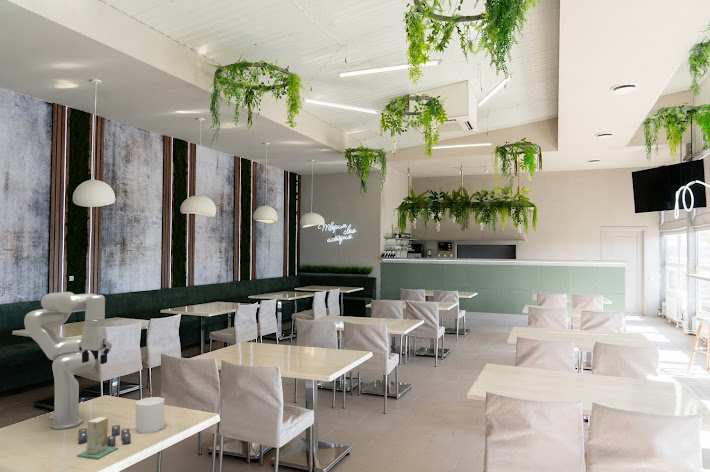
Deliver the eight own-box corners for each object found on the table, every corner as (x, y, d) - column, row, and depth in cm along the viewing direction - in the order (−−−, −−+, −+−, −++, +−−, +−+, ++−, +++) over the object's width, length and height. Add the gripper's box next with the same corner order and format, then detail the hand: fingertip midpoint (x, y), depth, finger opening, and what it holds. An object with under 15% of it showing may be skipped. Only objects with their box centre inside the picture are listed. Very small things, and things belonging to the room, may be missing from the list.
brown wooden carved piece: (161, 414, 237) (161, 389, 237) (162, 416, 234) (163, 391, 234) (141, 417, 232) (141, 391, 233) (142, 419, 229) (143, 393, 229)
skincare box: (96, 454, 188) (96, 422, 188) (86, 453, 189) (86, 421, 189) (108, 448, 194) (108, 417, 195) (98, 447, 195) (99, 416, 196)
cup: (143, 423, 224) (143, 397, 224) (168, 423, 224) (168, 397, 224) (130, 433, 212) (130, 405, 213) (157, 433, 212) (157, 405, 212)
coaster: (76, 456, 188) (76, 455, 188) (97, 446, 198) (97, 445, 198) (98, 459, 185) (98, 457, 185) (117, 449, 195) (117, 447, 195)
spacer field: (63, 444, 200) (63, 436, 200) (94, 430, 215) (94, 422, 215) (115, 451, 193) (115, 442, 193) (143, 436, 208) (143, 427, 208)
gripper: (71, 323, 213) (71, 363, 212) (104, 325, 208) (104, 366, 208) (85, 321, 220) (85, 359, 219) (117, 322, 215) (117, 362, 215)
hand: (94, 362), depth 214 cm, fingers open, 9 cm apart
